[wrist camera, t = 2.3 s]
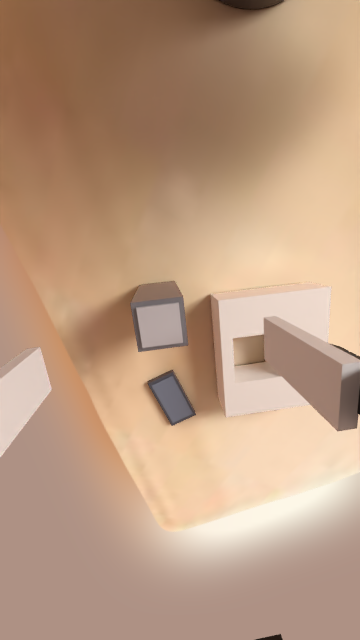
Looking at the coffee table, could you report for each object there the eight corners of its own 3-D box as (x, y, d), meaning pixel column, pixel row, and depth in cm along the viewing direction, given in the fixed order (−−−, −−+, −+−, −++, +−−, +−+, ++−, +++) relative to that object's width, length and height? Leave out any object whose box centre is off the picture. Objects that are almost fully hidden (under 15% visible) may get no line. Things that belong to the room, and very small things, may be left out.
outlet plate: (210, 294, 29) (218, 300, 25) (309, 281, 30) (332, 286, 26) (218, 398, 33) (226, 418, 29) (305, 385, 34) (325, 403, 30)
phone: (147, 379, 32) (147, 384, 31) (172, 368, 32) (173, 372, 31) (171, 420, 34) (172, 426, 33) (194, 410, 34) (196, 415, 33)
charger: (139, 285, 28) (129, 303, 19) (174, 280, 29) (183, 297, 19) (144, 318, 30) (138, 353, 20) (178, 314, 30) (188, 346, 20)
